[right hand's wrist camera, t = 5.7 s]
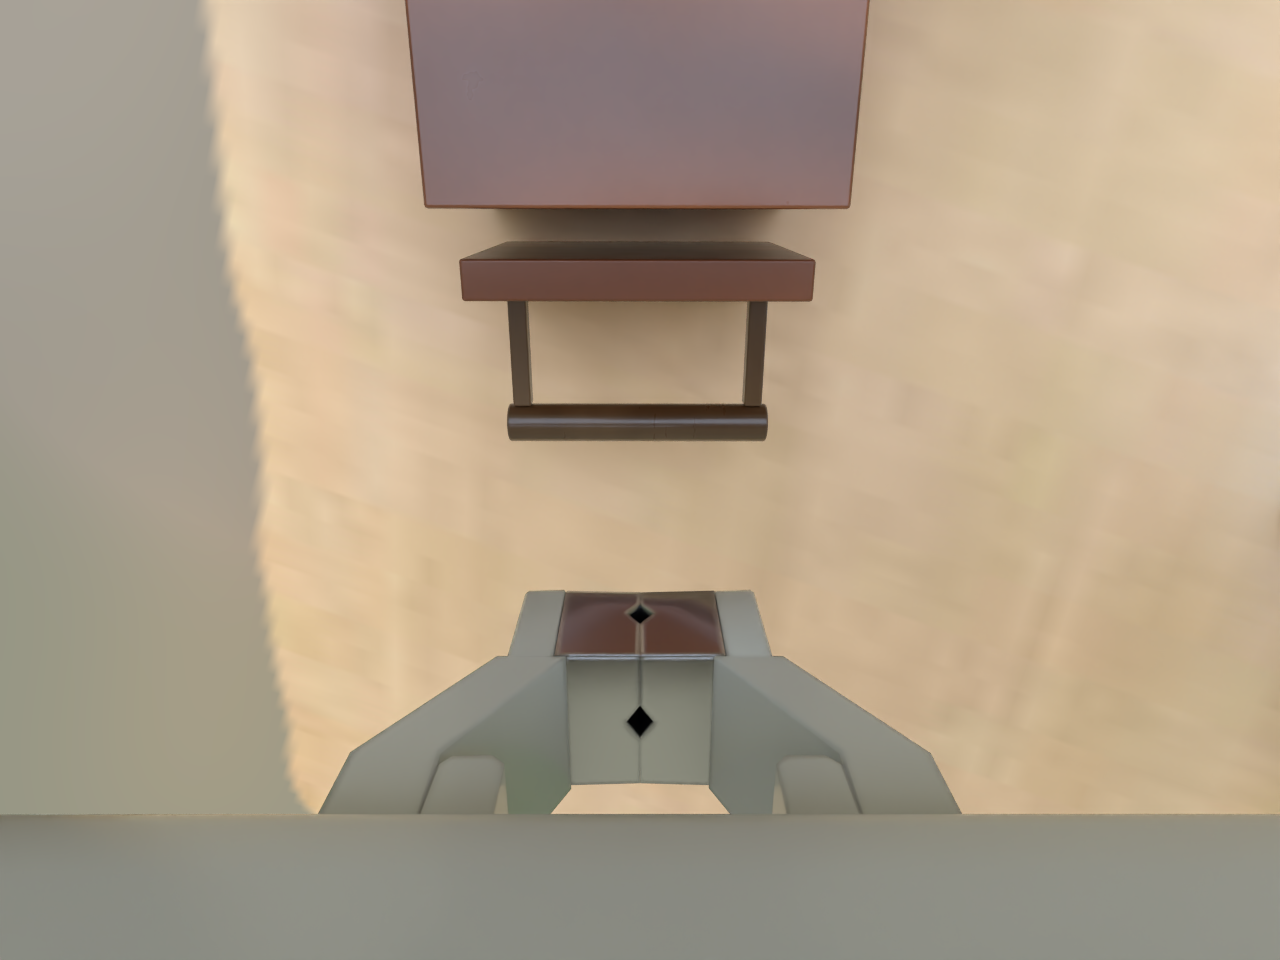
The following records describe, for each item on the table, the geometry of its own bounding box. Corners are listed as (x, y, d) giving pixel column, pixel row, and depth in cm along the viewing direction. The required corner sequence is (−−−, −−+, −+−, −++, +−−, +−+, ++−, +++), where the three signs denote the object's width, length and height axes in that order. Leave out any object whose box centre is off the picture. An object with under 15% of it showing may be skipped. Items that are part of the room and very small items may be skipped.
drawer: (761, 400, 32) (799, 465, 24) (514, 399, 32) (474, 465, 24) (805, -344, 23) (886, -603, 16) (470, -345, 23) (388, -605, 16)
